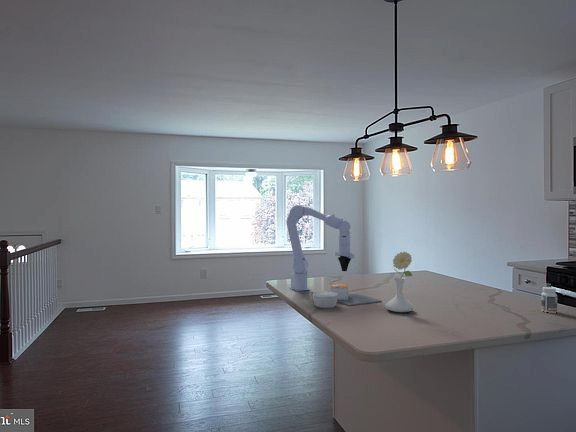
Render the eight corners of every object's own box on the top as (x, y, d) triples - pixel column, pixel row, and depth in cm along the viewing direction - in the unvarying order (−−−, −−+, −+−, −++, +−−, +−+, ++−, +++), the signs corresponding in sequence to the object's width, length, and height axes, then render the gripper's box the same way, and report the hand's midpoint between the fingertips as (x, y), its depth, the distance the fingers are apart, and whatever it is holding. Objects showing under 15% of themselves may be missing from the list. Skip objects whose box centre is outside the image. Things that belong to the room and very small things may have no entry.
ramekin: (315, 309, 170) (315, 297, 170) (309, 303, 181) (309, 291, 181) (341, 308, 172) (341, 296, 172) (334, 302, 183) (334, 291, 183)
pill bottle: (558, 311, 167) (559, 287, 167) (555, 314, 163) (555, 289, 163) (542, 309, 171) (543, 286, 171) (539, 311, 167) (539, 287, 167)
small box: (348, 284, 194) (348, 288, 184) (348, 295, 194) (348, 300, 184) (331, 283, 195) (330, 287, 185) (331, 295, 195) (330, 299, 185)
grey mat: (326, 297, 192) (326, 296, 192) (358, 294, 200) (358, 293, 200) (348, 305, 176) (348, 304, 176) (381, 301, 184) (381, 300, 184)
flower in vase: (379, 309, 171) (380, 249, 170) (401, 306, 175) (402, 249, 174) (399, 316, 159) (399, 253, 158) (422, 314, 163) (423, 252, 162)
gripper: (359, 245, 202) (359, 272, 202) (343, 243, 215) (342, 268, 215) (347, 245, 199) (347, 273, 199) (331, 243, 212) (331, 269, 212)
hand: (344, 271), depth 207 cm, fingers closed
